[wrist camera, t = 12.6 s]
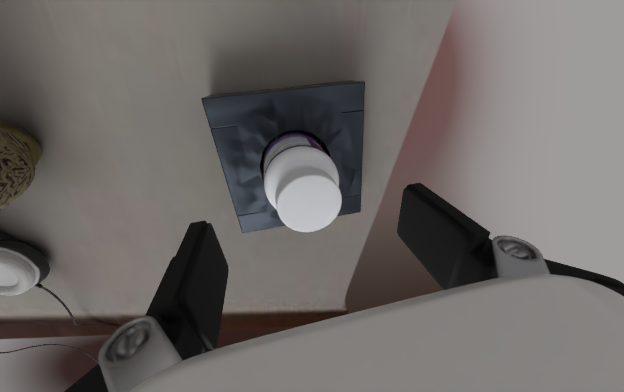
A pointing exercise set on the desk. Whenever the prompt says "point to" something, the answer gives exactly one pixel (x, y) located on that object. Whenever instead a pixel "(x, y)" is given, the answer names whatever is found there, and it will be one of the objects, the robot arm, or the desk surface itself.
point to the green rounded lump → (16, 162)
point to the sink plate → (273, 122)
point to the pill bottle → (301, 181)
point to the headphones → (24, 271)
